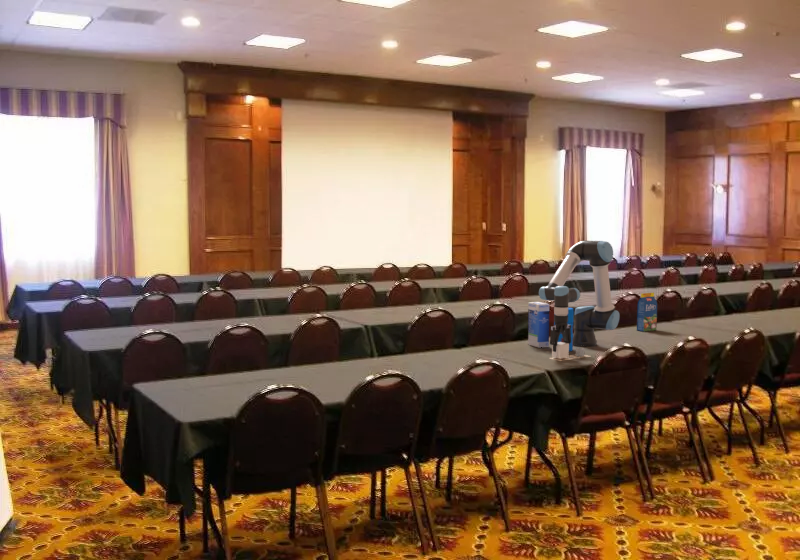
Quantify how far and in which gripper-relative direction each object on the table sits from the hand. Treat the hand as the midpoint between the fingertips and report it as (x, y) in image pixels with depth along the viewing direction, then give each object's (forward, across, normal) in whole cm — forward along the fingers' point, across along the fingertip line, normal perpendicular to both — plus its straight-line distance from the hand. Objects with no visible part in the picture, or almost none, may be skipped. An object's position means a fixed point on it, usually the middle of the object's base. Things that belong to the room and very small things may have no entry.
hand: (560, 356), depth 467 cm
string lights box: (+2, -21, -40) cm, 45 cm away
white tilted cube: (0, 0, 0) cm, 0 cm away
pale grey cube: (+1, -14, +1) cm, 14 cm away
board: (+2, -7, 0) cm, 7 cm away
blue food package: (+2, -121, -43) cm, 129 cm away
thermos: (+2, -20, -18) cm, 27 cm away
